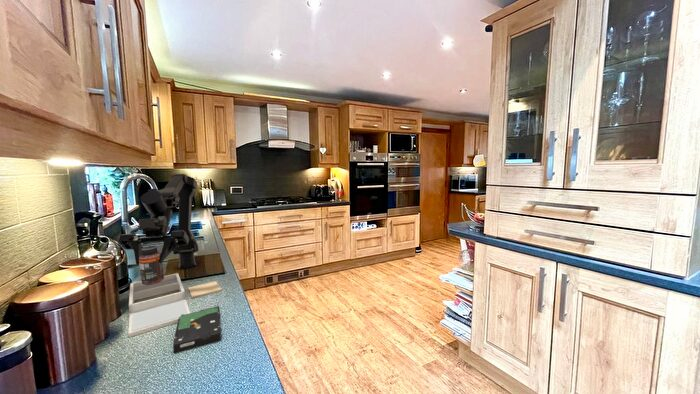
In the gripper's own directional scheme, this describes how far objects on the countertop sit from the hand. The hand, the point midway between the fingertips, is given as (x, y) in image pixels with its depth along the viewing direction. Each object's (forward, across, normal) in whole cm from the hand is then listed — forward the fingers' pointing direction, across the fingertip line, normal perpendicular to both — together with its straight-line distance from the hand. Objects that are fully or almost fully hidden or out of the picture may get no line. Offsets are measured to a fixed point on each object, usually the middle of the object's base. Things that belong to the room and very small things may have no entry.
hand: (148, 263), depth 86 cm
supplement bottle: (+4, 0, +6) cm, 7 cm away
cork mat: (+5, +14, +14) cm, 20 cm away
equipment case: (+10, +2, +8) cm, 13 cm away
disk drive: (+24, +18, -5) cm, 31 cm away
